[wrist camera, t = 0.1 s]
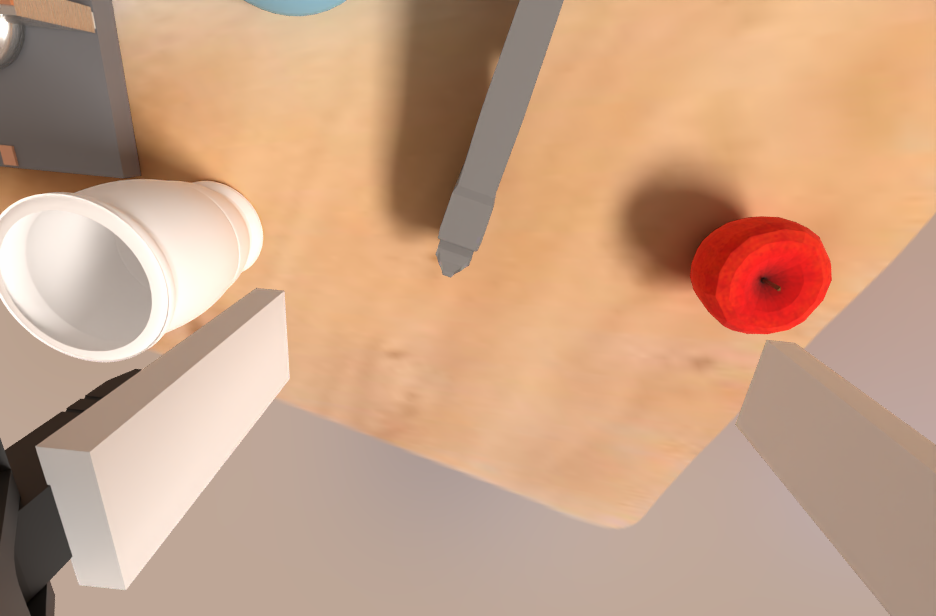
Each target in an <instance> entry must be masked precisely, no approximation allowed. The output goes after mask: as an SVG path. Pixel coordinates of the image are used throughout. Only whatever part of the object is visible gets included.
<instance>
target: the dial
mask: <svg viewBox="0 0 936 616" xmlns="http://www.w3.org/2000/svg"><path fill="white" fill-rule="evenodd" d="M25 26H28V27H38V28H48V29H59V30H69V31H79V32H90V33H95V29H94V23H93V18H92V12H91V7H88V6H85V5H81V4H78V3H74V2H71V1H67V0H0V69H2V68H5V67H7V66H9V65H10V64H11V63H13V62H14V61H15V60H16V58H17V57H18V56H19V54H20V52H21V50H22V48H23V45H24V40H25Z"/></svg>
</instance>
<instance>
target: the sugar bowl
mask: <svg viewBox="0 0 936 616" xmlns="http://www.w3.org/2000/svg"><path fill="white" fill-rule="evenodd" d="M244 1H246V2H248V3H250V4H252V5H254V6H256V7H258V8H260V9H263V10H266V11H269V12H272V13H275V14H281V15H287V16H306V15H313V14H318V13H321V12H324V11H328V10H330V9H332V8H334V7H336V6H338V5H340V4H342V3H343V2H345V1H346V0H244Z"/></svg>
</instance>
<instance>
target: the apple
mask: <svg viewBox="0 0 936 616" xmlns="http://www.w3.org/2000/svg"><path fill="white" fill-rule="evenodd" d="M690 278H691V282H692V286H693V289H694V291H695V293H696V295H697V296H698V298H699V299H700V300H701V302H702V303H703V305H704V306H705V308H706V309H707V310H708V312H709V313H710V314H711V315H712V316H713V317H715V318H716V319H717V320H718V321H719V322H720V323H721V324H722V325H723V326H725V327H727V328H729V329H731V330H734V331H738V332H742V333H746V334H770V333H775V332H780V331H785V330H789V329H791V328H793V327H795V326H796V325H798V324H800V323H802V322H803V321H805V320H806V319H807V317H808V316H809V315H810V314H811V313H812V312H813V311H814V310H815V309H816V308H817V306H818V305H819V304H820V303H821V302H822V301H823V299H824V297H825V295H826V292H827V290H828V287H829V285H830V283H831V280H832V278H831V263H830V259H829V257H828V255H827V253H826V251H825V248H824V246H823V244H822V242H821V240H820V237H819V236H817V235H816V234H815V233H813V232H812V231H811V230H810V229H808V228H807V227H804V226H802V225H800V224H798V223H796V222H793V221H790V220H786V219H783V218H779V217H749V218H744V219H739V220H735V221H732V222H729V223H727V224H724V225H723V226H721V227H719V228H717V229H716V230H714V231H713V232H712V233H711V234H710V235H708V236H707V237H706V238H705V239H704V240H703V241H702V242H701V244H700V245H699V247H698V249H697V251H696V253H695V256H694V259H693V261H692V264H691V273H690Z"/></svg>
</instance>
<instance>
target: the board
mask: <svg viewBox="0 0 936 616" xmlns="http://www.w3.org/2000/svg"><path fill="white" fill-rule="evenodd" d="M67 1H71V2H74V3H78V4H81V5H85V6H88V7H91V12H92V18H93V23H94V29H95V33H90V32H79V31H69V30H59V29H48V28H38V27H28V26H25V40H24V45H23V48H22V50H21V52H20V54H19V56H18V57H17V58H16V60H15V61H14V62H13V63H11V64H10V65H9V66H7V67H5V68H2V69H0V166H2V167H12V168H23V169H33V170H43V171H53V172H63V173H74V174H84V175H94V176H104V177H114V178H130V177H136V176H141V172H140V166H139V160H138V154H137V148H136V142H135V136H134V130H133V124H132V118H131V113H130V107H129V101H128V95H127V89H126V83H125V77H124V71H123V65H122V59H121V53H120V47H119V41H118V36H117V30H116V24H115V18H114V12H113V6H112V0H67Z"/></svg>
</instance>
